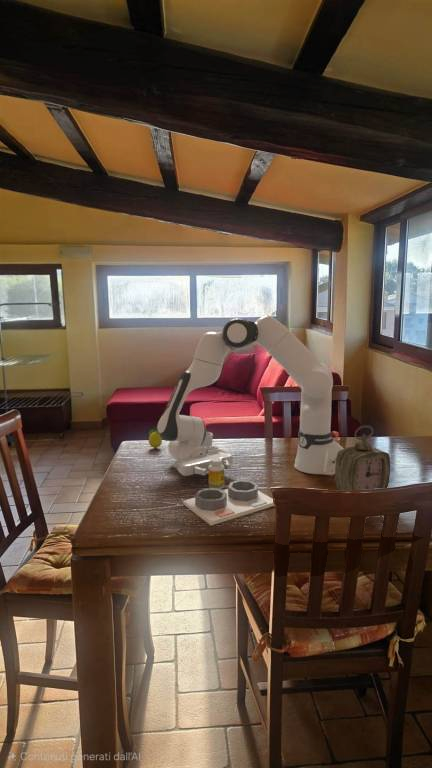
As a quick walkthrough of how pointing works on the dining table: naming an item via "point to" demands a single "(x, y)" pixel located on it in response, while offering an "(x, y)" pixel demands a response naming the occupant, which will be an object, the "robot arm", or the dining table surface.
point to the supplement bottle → (216, 473)
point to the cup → (208, 439)
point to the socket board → (228, 502)
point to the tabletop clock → (362, 466)
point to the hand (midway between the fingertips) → (217, 470)
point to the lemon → (154, 439)
